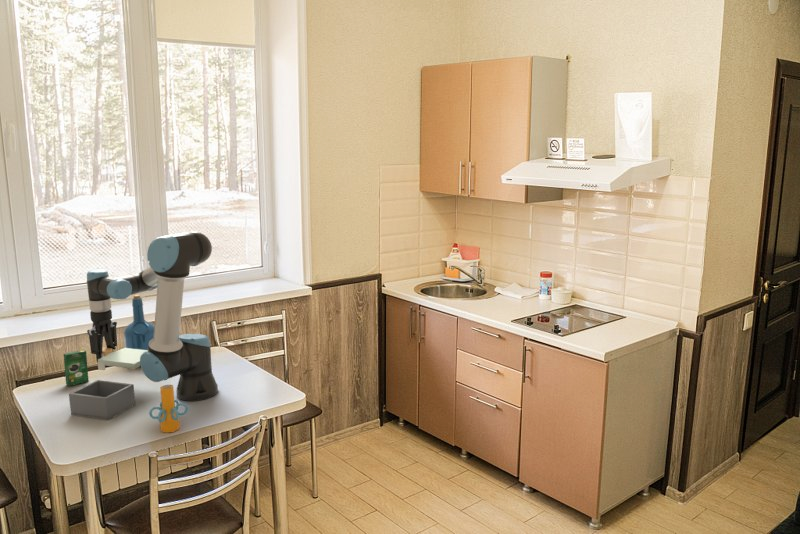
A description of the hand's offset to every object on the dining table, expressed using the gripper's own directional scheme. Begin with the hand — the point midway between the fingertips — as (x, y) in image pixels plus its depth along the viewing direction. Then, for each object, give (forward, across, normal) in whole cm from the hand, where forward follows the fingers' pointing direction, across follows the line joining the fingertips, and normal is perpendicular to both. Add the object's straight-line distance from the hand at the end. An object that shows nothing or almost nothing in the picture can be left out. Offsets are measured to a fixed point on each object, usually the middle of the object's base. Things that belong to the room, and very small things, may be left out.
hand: (106, 367), depth 260 cm
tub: (+8, +19, +15) cm, 25 cm away
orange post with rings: (+8, +26, +48) cm, 55 cm away
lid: (-3, 0, +9) cm, 9 cm away
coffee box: (+8, 0, -15) cm, 17 cm away
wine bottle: (+8, -29, -7) cm, 31 cm away
